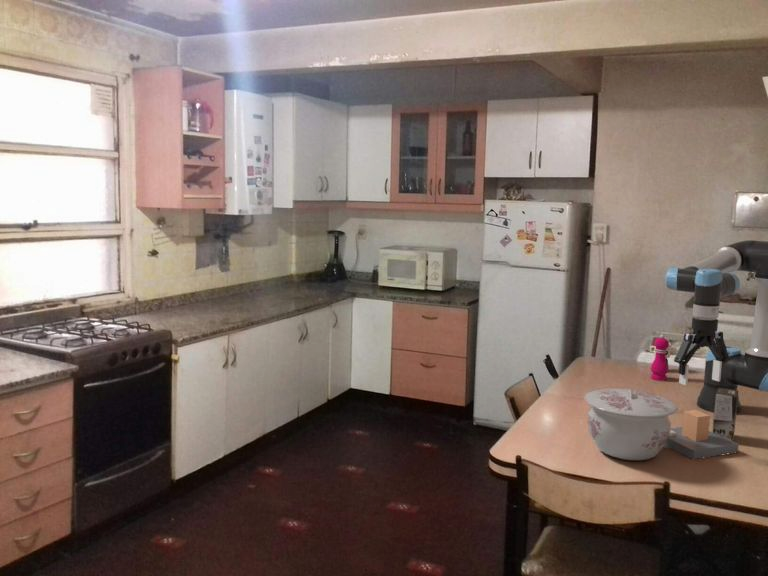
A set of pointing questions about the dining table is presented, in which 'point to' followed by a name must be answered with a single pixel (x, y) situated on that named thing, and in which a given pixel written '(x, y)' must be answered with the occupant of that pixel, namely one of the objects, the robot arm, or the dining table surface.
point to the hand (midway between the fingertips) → (699, 382)
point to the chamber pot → (629, 422)
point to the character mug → (666, 353)
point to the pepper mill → (660, 359)
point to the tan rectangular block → (695, 425)
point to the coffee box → (725, 413)
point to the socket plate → (700, 445)
